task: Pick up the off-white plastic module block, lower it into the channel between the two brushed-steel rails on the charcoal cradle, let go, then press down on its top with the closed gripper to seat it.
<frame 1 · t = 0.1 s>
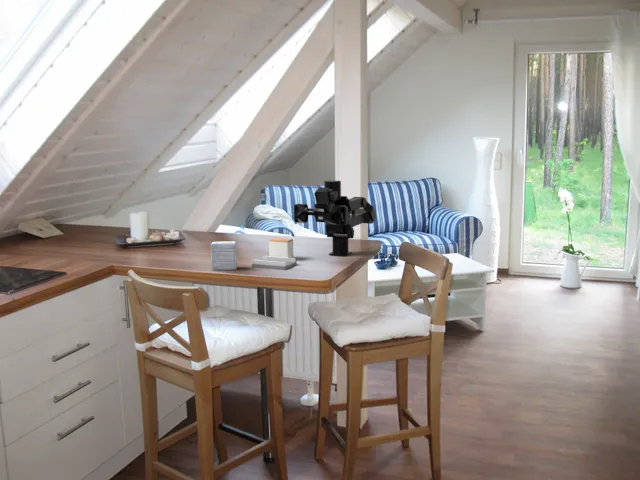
hand: (310, 217, 217), 17 cm above the breakfast bar, tool horizontal, fingers open, 9 cm apart
medicine box: (224, 269, 221), on the breakfast bar
rail cradle: (274, 265, 225), on the breakfast bar
module: (281, 259, 236), on the breakfast bar
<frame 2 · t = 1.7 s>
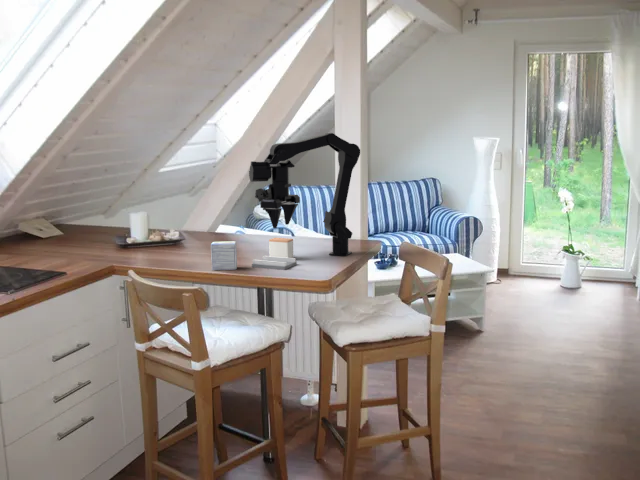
hand: (281, 226, 234), 11 cm above the breakfast bar, tool pointing down, fingers open, 9 cm apart
nothing on the breakfast bar moved.
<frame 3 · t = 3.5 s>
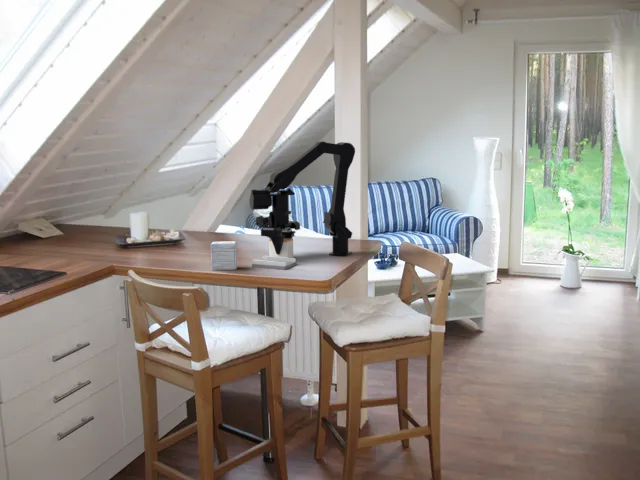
hand: (281, 253, 235), 2 cm above the breakfast bar, tool pointing down, fingers closed on module, 4 cm apart
module: (281, 258, 236), on the breakfast bar, touching gripper
everything else where it was.
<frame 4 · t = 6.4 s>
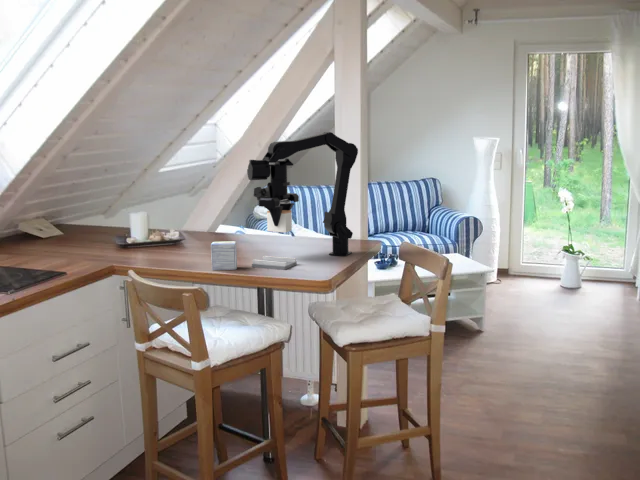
hand: (279, 225, 232), 12 cm above the breakfast bar, tool pointing down, fingers closed on module, 4 cm apart
module: (279, 230, 233), point 10 cm above the breakfast bar, touching gripper
everything else where it was.
when the fingers open (3 cm above the breakfast bar, at t = 9.5 s): module stays where it is, resting on rail cradle.
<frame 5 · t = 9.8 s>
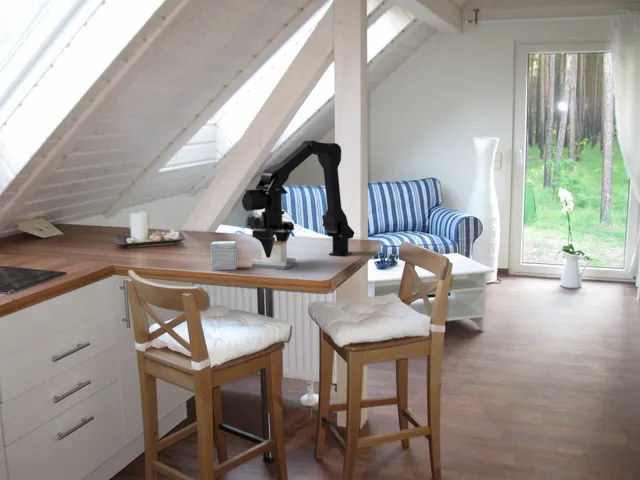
hand: (274, 255, 224), 3 cm above the breakfast bar, tool pointing down, fingers open, 8 cm apart
module: (274, 262, 225), point 1 cm above the breakfast bar, touching rail cradle
everything else where it was.
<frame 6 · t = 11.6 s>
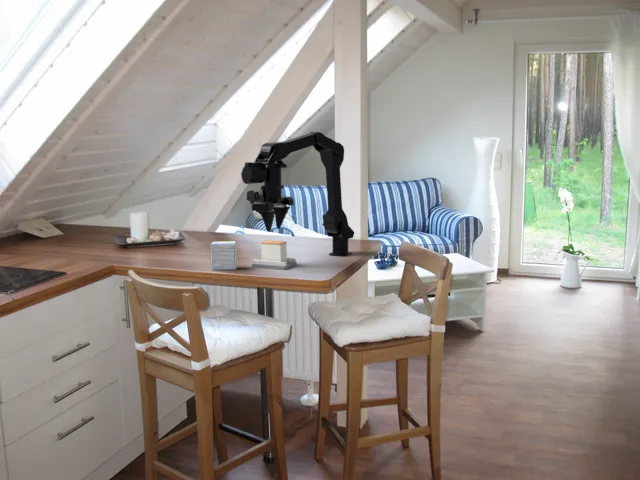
hand: (273, 229, 223), 12 cm above the breakfast bar, tool pointing down, fingers open, 7 cm apart
nothing on the breakfast bar moved.
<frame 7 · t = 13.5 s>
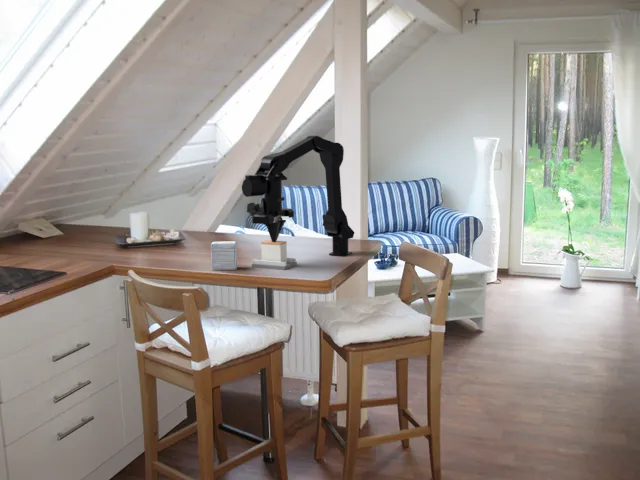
hand: (274, 241, 223), 8 cm above the breakfast bar, tool pointing down, fingers closed, pressing on module
module: (274, 262, 225), point 1 cm above the breakfast bar, touching gripper, rail cradle
everything else where it was.
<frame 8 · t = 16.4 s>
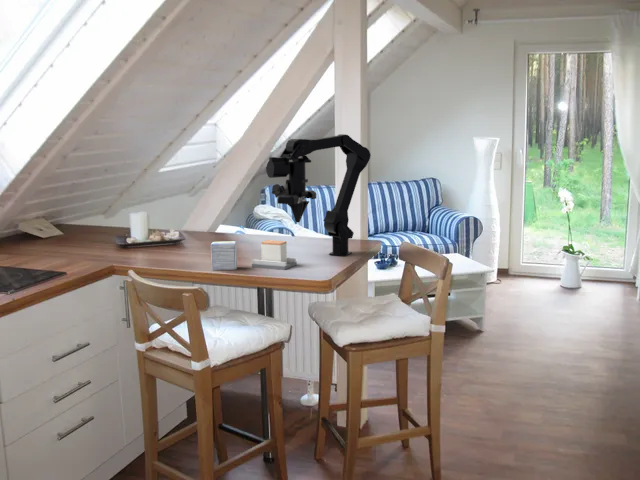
hand: (297, 222, 232), 13 cm above the breakfast bar, tool pointing down, fingers closed
module: (274, 262, 225), point 1 cm above the breakfast bar, touching rail cradle
everything else where it was.
at the end: module 0.0 cm off-centre on the rail cradle, point 1.0 cm above the rail cradle's base; module tilted 0°; the gripper is holding nothing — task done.
